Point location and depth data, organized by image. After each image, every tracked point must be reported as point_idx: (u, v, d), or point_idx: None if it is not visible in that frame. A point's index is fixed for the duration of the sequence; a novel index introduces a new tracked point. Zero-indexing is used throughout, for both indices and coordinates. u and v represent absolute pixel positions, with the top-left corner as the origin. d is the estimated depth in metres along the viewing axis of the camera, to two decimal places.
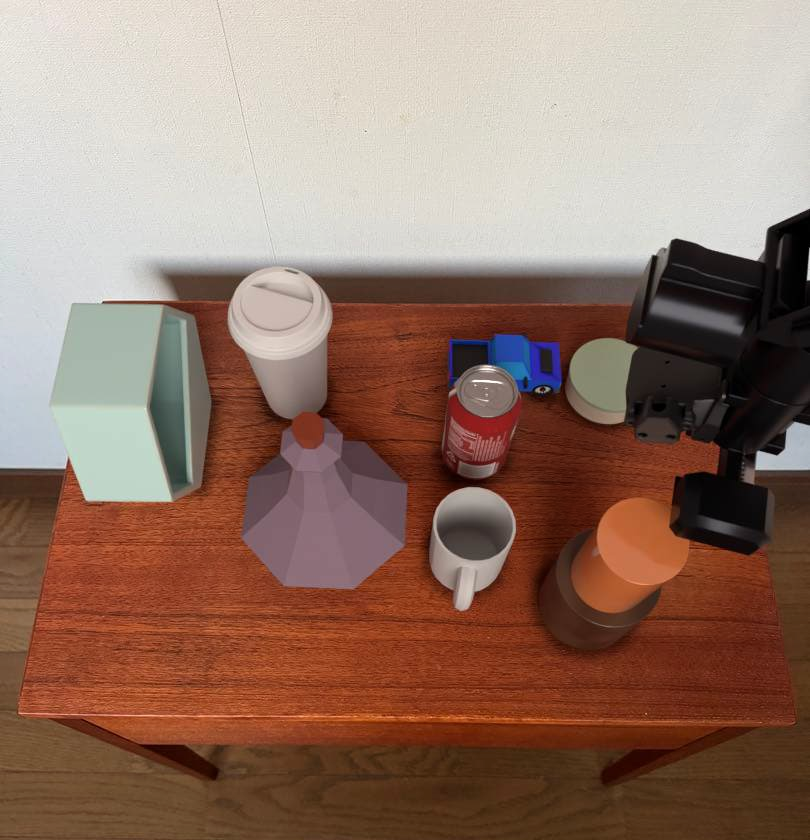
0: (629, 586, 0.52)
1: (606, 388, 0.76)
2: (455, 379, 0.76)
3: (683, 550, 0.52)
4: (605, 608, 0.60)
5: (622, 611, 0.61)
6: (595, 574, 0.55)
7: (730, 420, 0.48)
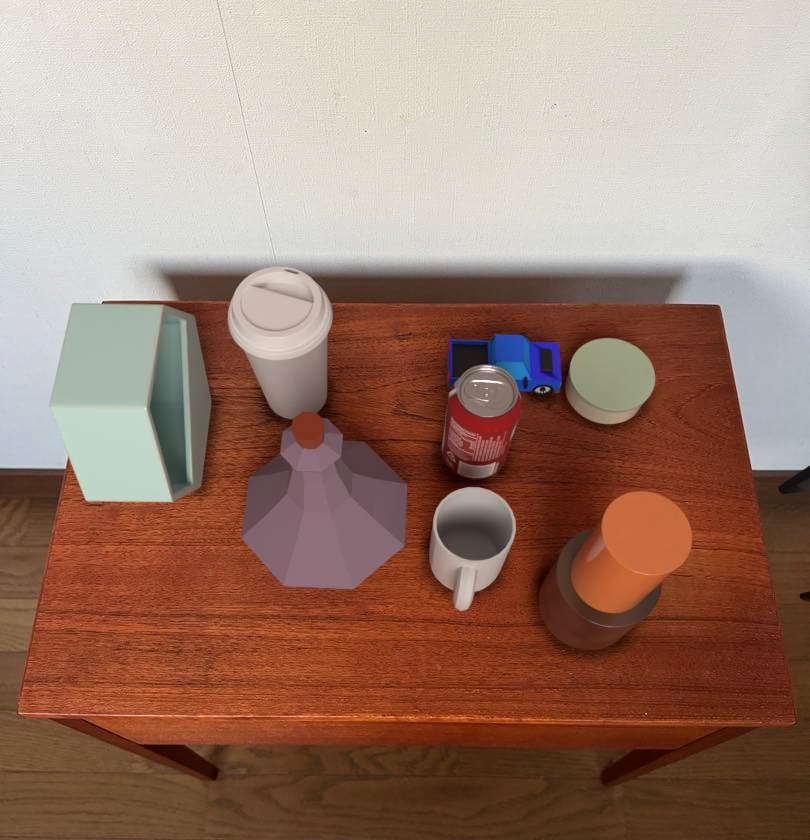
0: (633, 577, 0.53)
1: (606, 388, 0.76)
2: (455, 379, 0.76)
3: (686, 542, 0.53)
4: (605, 607, 0.60)
5: (621, 611, 0.61)
6: (598, 567, 0.55)
7: None
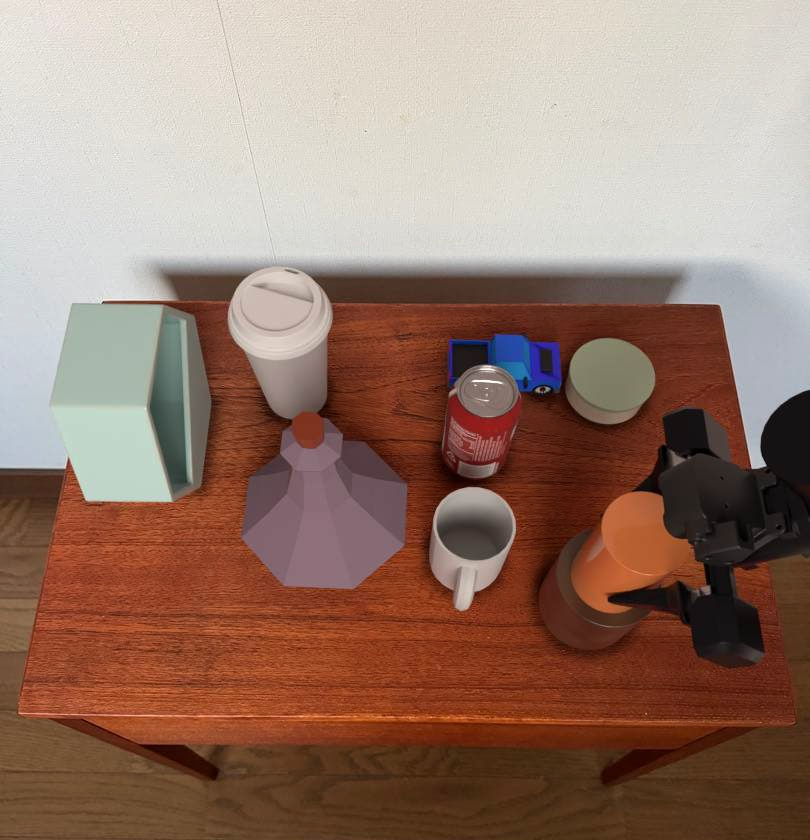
0: (633, 578, 0.53)
1: (606, 388, 0.76)
2: (455, 379, 0.76)
3: (686, 543, 0.53)
4: (605, 607, 0.60)
5: (621, 611, 0.61)
6: (598, 567, 0.55)
7: None
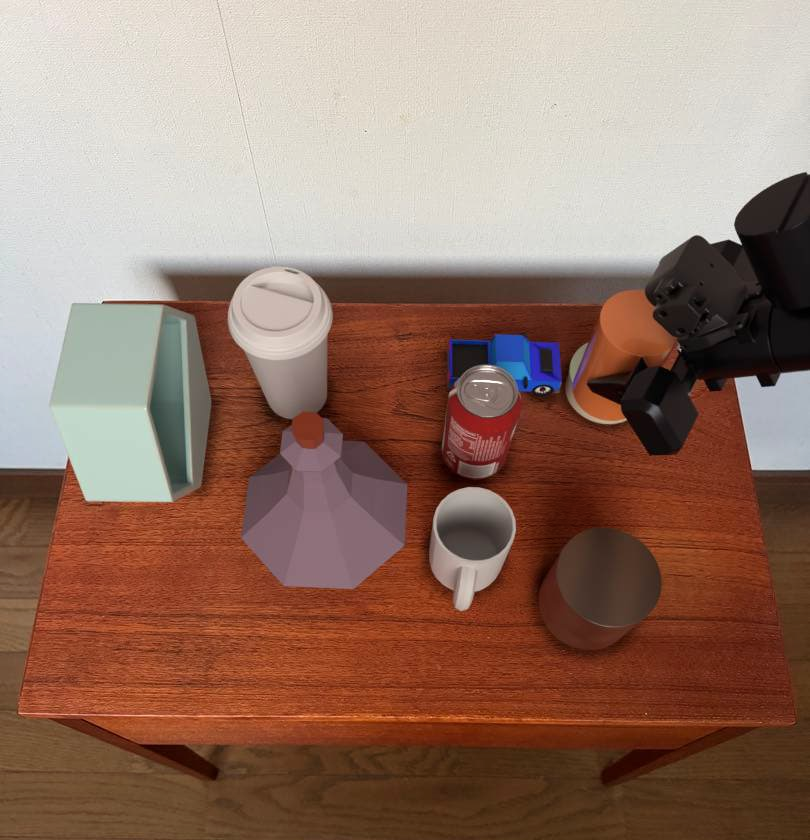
0: (610, 353, 0.59)
1: None
2: (455, 379, 0.76)
3: (669, 343, 0.58)
4: (587, 403, 0.66)
5: (600, 418, 0.67)
6: (590, 345, 0.62)
7: (719, 346, 0.54)
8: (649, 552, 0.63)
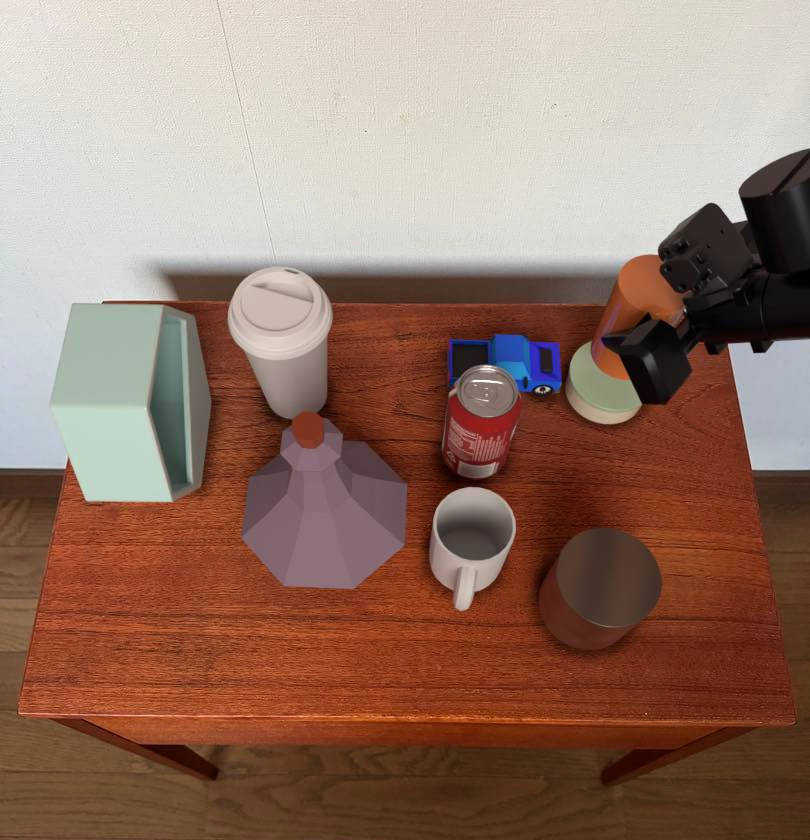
0: (623, 307, 0.64)
1: (606, 388, 0.76)
2: (455, 379, 0.76)
3: (678, 305, 0.63)
4: (600, 359, 0.71)
5: (611, 375, 0.72)
6: (608, 301, 0.67)
7: (718, 308, 0.58)
8: (649, 552, 0.63)
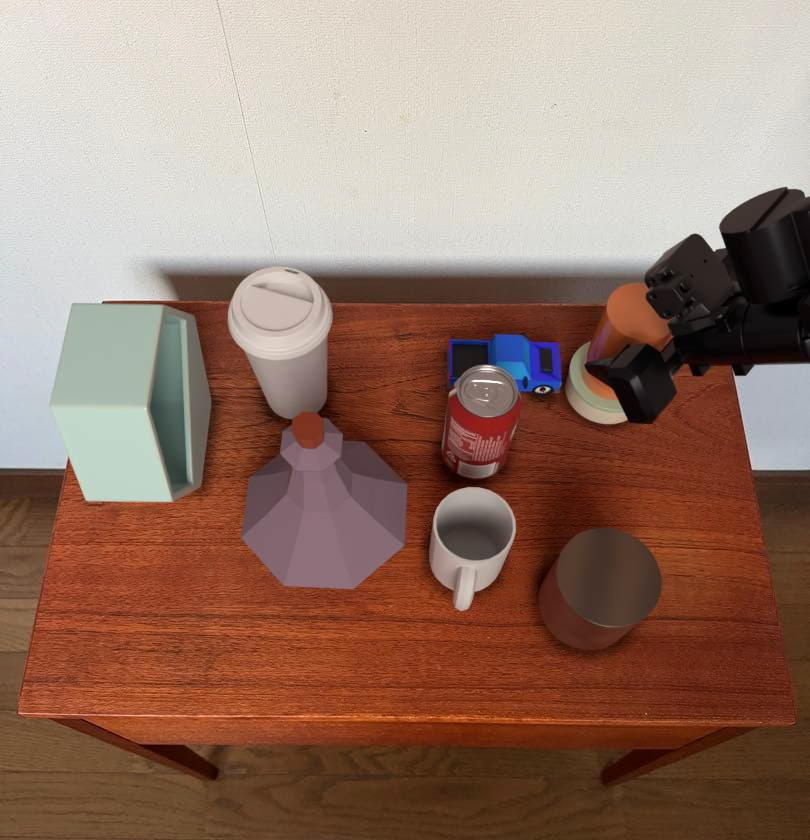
0: (611, 333, 0.67)
1: None
2: (455, 379, 0.76)
3: (663, 332, 0.66)
4: (590, 380, 0.74)
5: (600, 395, 0.75)
6: (598, 326, 0.70)
7: (701, 333, 0.61)
8: (649, 552, 0.63)
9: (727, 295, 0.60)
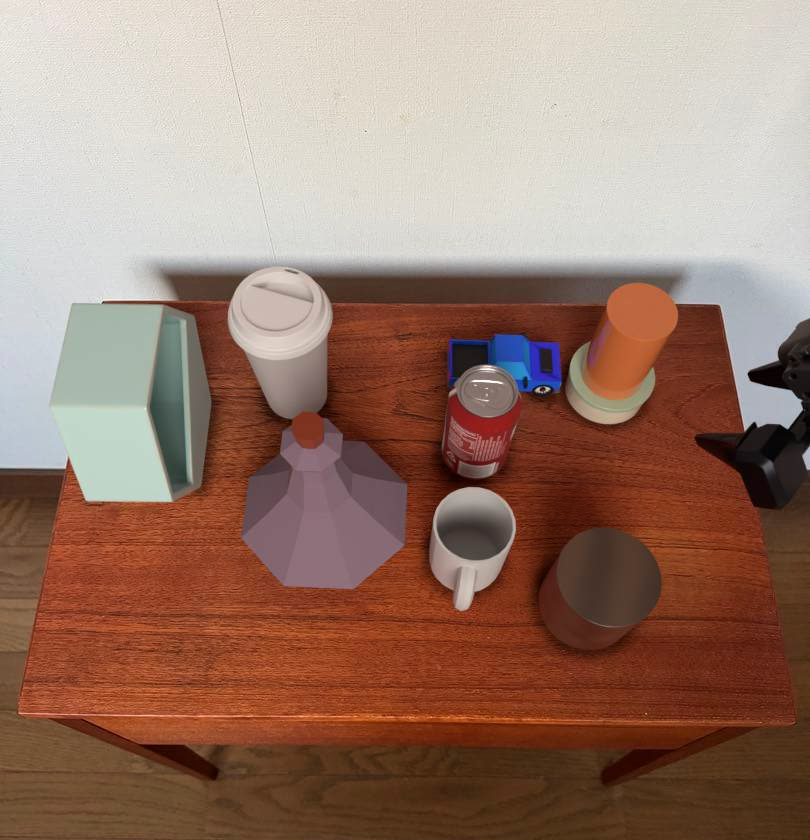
0: (611, 333, 0.67)
1: None
2: (455, 379, 0.76)
3: (663, 332, 0.66)
4: (590, 380, 0.74)
5: (600, 395, 0.75)
6: (598, 326, 0.70)
7: None
8: (649, 552, 0.63)
9: None
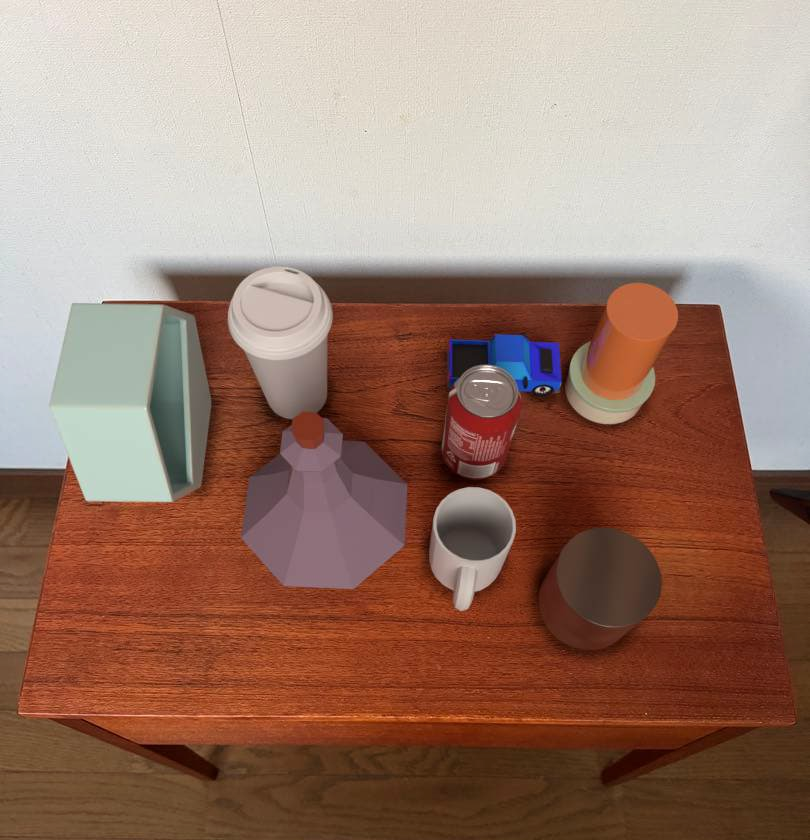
0: (611, 333, 0.67)
1: None
2: (455, 379, 0.76)
3: (663, 332, 0.66)
4: (590, 380, 0.74)
5: (600, 395, 0.75)
6: (598, 326, 0.70)
7: None
8: (649, 552, 0.63)
9: None
